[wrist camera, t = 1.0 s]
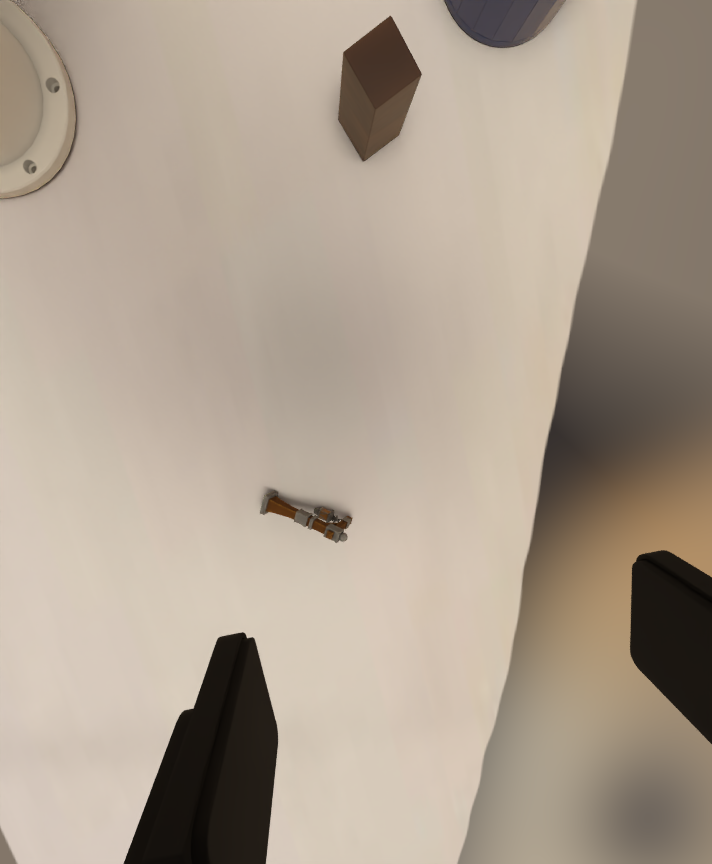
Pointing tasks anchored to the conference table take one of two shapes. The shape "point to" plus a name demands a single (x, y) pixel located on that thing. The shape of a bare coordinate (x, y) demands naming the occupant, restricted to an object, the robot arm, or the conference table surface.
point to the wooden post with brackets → (308, 517)
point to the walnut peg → (376, 88)
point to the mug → (503, 19)
